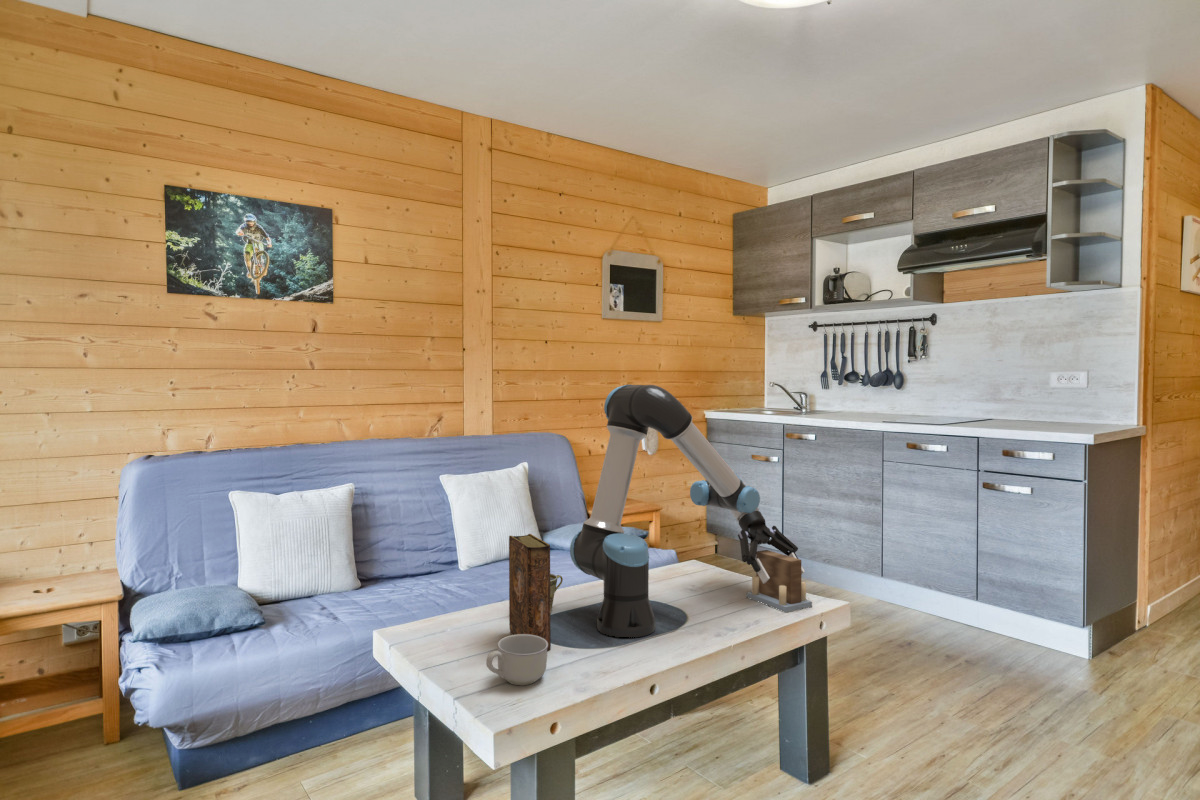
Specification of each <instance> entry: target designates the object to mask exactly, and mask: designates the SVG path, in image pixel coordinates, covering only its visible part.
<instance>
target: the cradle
mask: <svg viewBox="0 0 1200 800" xmlns="http://www.w3.org/2000/svg"><path fill="white" fill-rule="evenodd" d="M751 583H752V584H751V586H752V587H751V588H752V589H751V591H747V592H746V598H747V597H748V598H747V599H749V598H751V599H750V600H752V599H754V600H753V601H755V600H756V601H755V602H757V601H759V602H758V603H760V602H762V603H764V604H763V605H765V604H767V605H769V606H768V607H770V606H772V607H771V608H773V607H774V608H773V609H775V608H777V609H776V610H778V609H779V610H778V611H780V610H782V611H781V612H783V611H784V612H783V613H786V612H787V613H790V612H789V611H791V612H795V611H794V610H796V611H799V610H798V609H800V610H803V609H802V608H805V609H809V608H812V607H813V600H808V599H807V583H806V581H801V602H800V603H796V604H788V603H786V586H784V585H780V586H779V600H777V599H775V598H772V597H769V596H767V595H764V594H761V593H759V577H758V576H756V575H755V576H752V578H751ZM762 603H761V604H762ZM767 605H766V606H767ZM808 607H809V608H808Z"/></svg>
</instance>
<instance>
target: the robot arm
mask: <svg viewBox="0 0 1200 800" xmlns="http://www.w3.org/2000/svg"><path fill="white" fill-rule="evenodd" d="M603 410H604V414H605V417H606V419H607V424H606V430H608V432H609V437H608V438H609V439H608V443H607V447H606V451H605V456H604V460H603V463H602V468H601V471H600V475H599V476H600V477H599V480H598V484H597V488H596V494H595V497H594V502H593V506H592V510H591V515H590V517H589V518H588V519H586V520H585V521H583V524H582V528H581V530H579V531H578V533H576V534H575V535H574V536H573V538H572V539H571V542H570V545H569V546H570V547H569V554H570V559H571V561H572V563H573V564H574V566H575V567H576V568H577V569H578V570H580V571H581V572H582V573H584V574H585V575H588V576H592V577H594V578H596V579H599V580H602V581H603V599H602V603H601V605H600V609H599V612H598V615H597V618H596V626H597V627H596V628H597V631H598V630H599V631H600V633H601V634H602V635H605V634H606V635H605V636H608V635H609V636H608V637H612V636H615V637H614V638H619V637H629V638H628V639H633V638H634V637H635V638H642V637H645V636H648V635H650V634H652V633H654V632H655V631H656V617H655V614H654V611H653V608H652V605H651V601H650V598H649V580H650V579H649V577H650V576H649V570H650V569H649V566H650V564H649V560H650V553H649V547H648V543H647V541H646V540H645V539H644V538H642V537H640V536H638V535H635V534H628V533H625V530H624V529H623V527H622V520H623V516H624V511H625V507H626V503H627V499H628V493H629V490H630V485H631V481H632V477H633V474H634V473H633V472H634V468H635V463H636V460H637V455H638V451H639V446H640V443H641V441H643V439H645V438H646V437H647V435H648V432H649V429H653V430H655V431H656V432H658V433H659V434H661V435H662V437H663V438H664V439H665V440H671V442H672V443H673V444H674V445H675V446H676V447H677V448H678V450H679V451H680V452H681V453H682V454H683V456H685V458H686V459H688V461H689V462H690V463H691V465H692V466H694V468H695V469H696V470H697V472H699V473H700V474H701V476H702V477H703V478H704V479H705V480H704V479H702V480H696V481H695V482H693V483H692V484H691V486H690V489H689V495H690V496H689V498H690V500H691V501H692V503H693V504H694V505H696V506H703V507H705V506H706V507H707V506H711V507H716V508H719V509H720V508H721V509H726V510H730V512H731V514H732V515H733V517H734V518H735V520H736V521H737V523H738V525H739V527H740V529H741V530H740V532H739V533H738V534H737V537H738V540H739V544H740V554H741V561H742V562H743V563H746V564H747V565H748V566H750V565H751V567H752V570H753V571H754V572H755V573H756V572H757V573H758V575H759V577H760V579H761V581H762V582H763V584H764V583H766V582H767V581H768V580H769V579H770V577H769V576H768V574H767V572H766V570H765V569H764V567H763V565H762V563H761V562H760V560H759V558H757V559H756V553H757V551H758V546H760V545H766V544H767V545H769V546H771V547H773V548H775V549H777V550H778V551H780V552H781V553H783V555H786V556H790V557H793V558H797V559H799V557H798V555H797V552H798V550H799V547H798V546H797V545H795V543H793V542H792V541H791V540H790V539H789V538H788V537H786V536H785V535H784V534H783V533H782V532H781V531H780V530H779V528H777V526H776V525H772V527H770V528H769V527H768V526H767V525H766V519H765V517H764V516H763V514H762V513H761V512H760V511H759V510H760V509H759V505H760V503H761V496H760V492H759V491H758V490H757V488H755V487H753V486H750V485H746V484H744V481H743V480H742V479H741V478H740V476H739V475H738V473H736V472H735V471H733V469H732V468H731V467H730V466H729V465H728V463H727V462H726V461H725V460H724V459H723V457H722V456H721V454H719V452H718V451H717V450H716V449H715V447H714V446H713V445H712V444H711V443H710V442H709V441H708V439H707V437H705V436H704V434H703V433H702V431H700V429H699V428H698V427H697V426H696V425H695V423H694V422H693V415H692V414H691V412H690V411H688V409H687V407H686V406H684V404H682V402H681V401H679V400H678V399H677V398H676V396H674V395H673V394H672V393H671V392H670V391H669V390H666V389H665V388H663V387H661V386H658V385H655V384H625V385H619V386H618V387H615V388H614V389H612V390H611V391H610V392H609V393H608V395H607V396H606V398H605V401H604V406H603ZM749 540H750V543H749ZM804 573H805V569H804V567H803V566H802V565H801V576H802V575H803V574H804ZM654 630H655V631H654ZM599 631H598V632H599ZM630 637H631V638H630ZM632 637H633V638H632ZM635 638H634V639H635Z"/></svg>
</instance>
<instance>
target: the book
mask: <svg viewBox="0 0 1200 800" xmlns="http://www.w3.org/2000/svg"><path fill="white" fill-rule="evenodd" d="M508 570H509V571H508V573H509V574H508V584H509V585H508V586H509V587H508V590H509V591H508V594H509V595H508V597H509V600H508V601H509V604H508V605H509V606H508V607H509V610H508V611H509V615H508V616H509V621H508V623H509V633H510V634H511V635H518V634H529V635H535V636H539V637H541V638H544V639H545V640H546V641H547V643H548V648H547V653H548V652H550V651H551V650H552V649H551V641H552V640H551V639H552V637H551V633H552V632H551V614H550V573H551V544H549V543H547V542H546V541H544V540H542V539H540V538H538V537H537V536H536V535H534V534H532V533H528V534H525V535H516V536H515V535H509V536H508Z"/></svg>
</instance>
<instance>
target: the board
mask: <svg viewBox="0 0 1200 800" xmlns="http://www.w3.org/2000/svg"><path fill="white" fill-rule="evenodd" d="M757 558H759V560H760V562H761V563H762V565H763V567H764V569H765V570H766V572H767V574H768V576H769V577H770V579H769V580H768V581H767V582H766V583H764V584H763V582H762V581H761V579H760V577H759V575H758V573H757V572H755V574H756V575H755V576H758V577H759V593H761V594H764V595H767V596H769V597H772V598H775V599H777V600H779V586H780V585H784V586H786V603H788V604H796V603H800V602H801V582H802V575H801V566H802V559H799V558H798V559H797V558H793V557H790V556H787V555H786V554H784V553H783V554H782V553H779V552H775V551H772V550H769V549H764V550H757V553H756V558H755V560H756V559H757Z"/></svg>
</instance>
